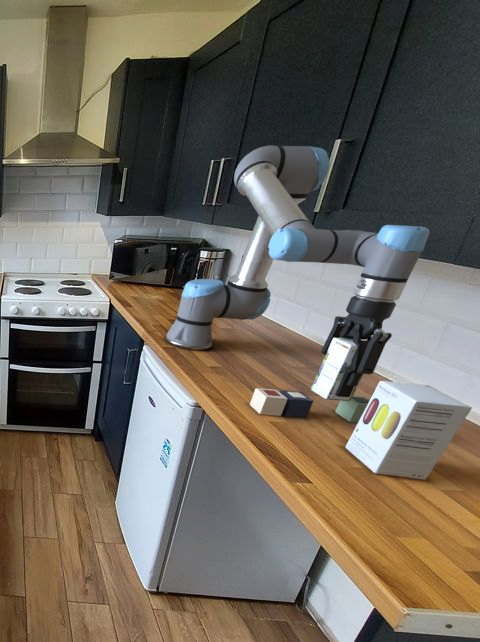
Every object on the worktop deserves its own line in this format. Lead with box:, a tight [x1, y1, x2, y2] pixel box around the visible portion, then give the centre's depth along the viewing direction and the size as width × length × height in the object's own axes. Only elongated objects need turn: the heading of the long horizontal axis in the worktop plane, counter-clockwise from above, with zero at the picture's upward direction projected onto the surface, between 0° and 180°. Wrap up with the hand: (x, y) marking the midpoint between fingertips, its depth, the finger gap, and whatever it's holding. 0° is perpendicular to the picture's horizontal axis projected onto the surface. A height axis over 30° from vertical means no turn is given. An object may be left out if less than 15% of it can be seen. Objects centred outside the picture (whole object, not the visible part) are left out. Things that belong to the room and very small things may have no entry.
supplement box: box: [345, 380, 473, 480], centre depth 81 cm, size 10×9×17 cm
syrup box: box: [310, 338, 365, 401], centre depth 97 cm, size 6×6×14 cm
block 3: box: [334, 395, 370, 424], centre depth 100 cm, size 5×5×5 cm
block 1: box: [249, 387, 287, 417], centre depth 102 cm, size 5×5×5 cm
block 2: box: [279, 389, 314, 419], centre depth 102 cm, size 5×5×5 cm
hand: (332, 389), depth 99 cm, fingers closed on syrup box, 6 cm apart
